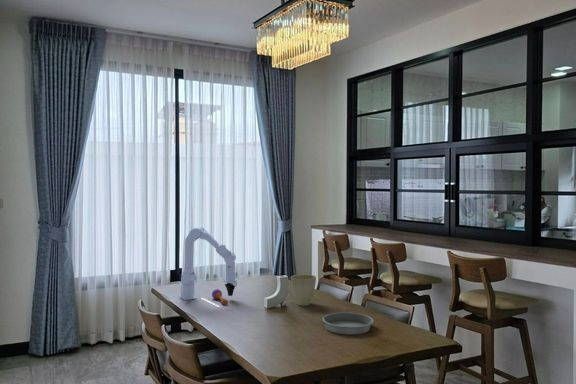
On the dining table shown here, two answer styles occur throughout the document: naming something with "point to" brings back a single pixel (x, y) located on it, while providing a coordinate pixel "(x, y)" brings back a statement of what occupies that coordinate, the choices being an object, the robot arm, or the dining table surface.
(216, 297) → the kendama
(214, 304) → the strip
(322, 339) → the dining table surface
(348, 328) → the cake pan
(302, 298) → the plant pot
